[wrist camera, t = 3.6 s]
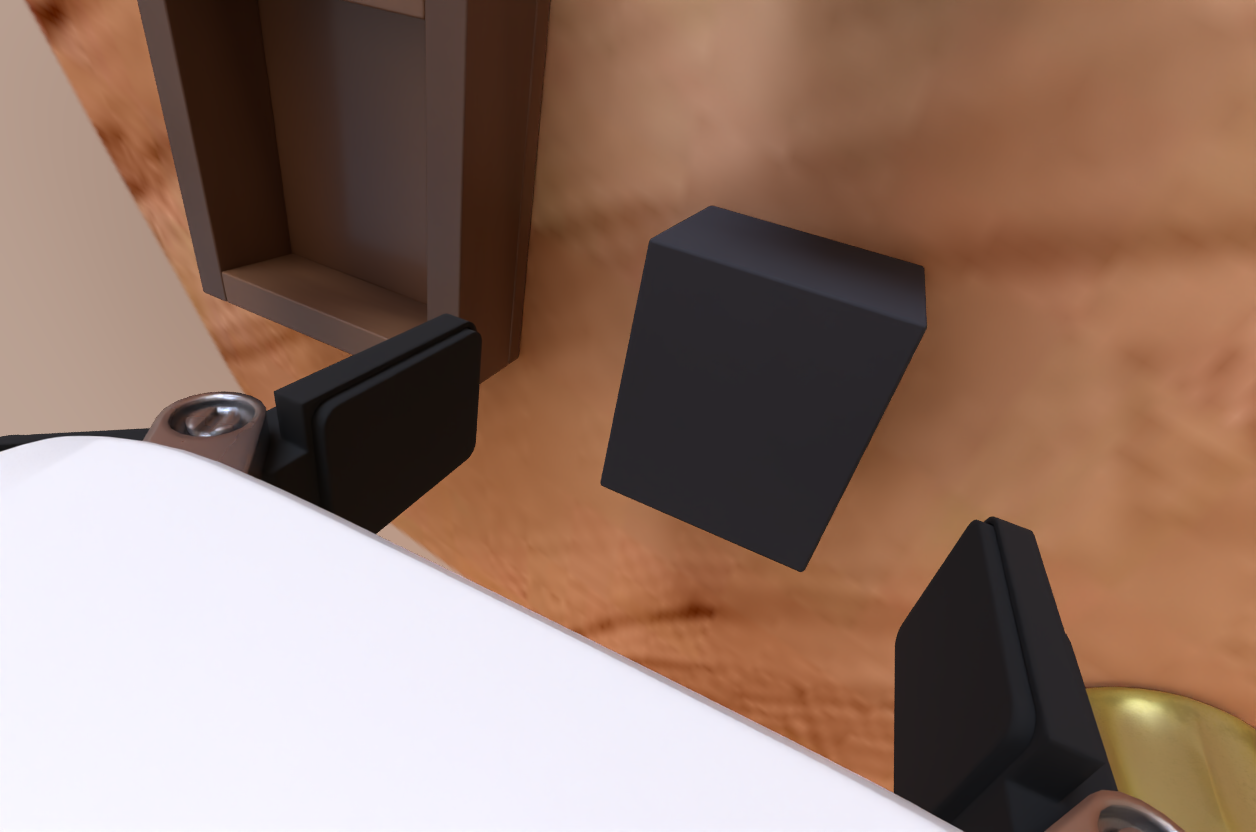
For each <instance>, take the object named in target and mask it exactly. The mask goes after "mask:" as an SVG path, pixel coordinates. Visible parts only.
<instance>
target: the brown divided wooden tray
mask: <svg viewBox="0 0 1256 832" xmlns="http://www.w3.org/2000/svg"><path fill="white" fill-rule="evenodd" d="M137 1H138V6H139V10H140V14H141V19H142V23H143V28H144V32H145V36H146V41H147V45H148V50H149V54H150V58H151V63H152V67H153V72H154V76H155V80H156V85H157V89H158V93H159V98H160V102H161V107H162V111H163V115H164V120H165V124H166V129H167V133H168V137H169V142H170V146H171V151H172V155H173V159H174V164H175V168H176V173H177V177H178V181H179V186H180V190H181V194H182V199H183V203H184V208H185V212H186V216H187V221H188V225H189V230H190V234H191V238H192V243H193V247H194V252H195V256H196V260H197V265H198V269H199V273H200V278H201V282H202V287H203V291H204V292H205V293H207V294H210V295H212V296H214V297H217V298H219V299H221V300H224V301H228V302H229V303H231V304H234V305H236V306H238V307H241V308H243V309H245V310H248V311H250V312H253V313H255V314H257V315H260V316H262V317H264V318H267V319H269V320H271V321H274V322H276V323H279V324H281V325H283V326H286V327H288V328H290V329H293V330H295V331H297V332H300V333H302V334H305V335H307V336H309V337H312V338H314V339H316V340H319V341H321V342H323V343H326V344H328V345H331V346H333V347H335V348H338V349H340V350H342V351H345V352H347V353H350V354H352V355H355V354H357V353H359V352H361V351H364V350H366V349H368V348H370V347H372V346H375V345H377V344H379V343H381V342H383V341H386V340H388V339H390V338H392V337H394V336H396V335H399V334H401V333H403V332H405V331H407V330H410V329H412V328H414V327H416V326H418V325H421V324H423V323H425V322H427V321H429V320H431V319H434V318H436V317H438V316H440V315H442V314H446V313H447V314H451V315H453V316H456V317H459V318H461V319H464V320H467V321H470V322H472V323H474V325H475V326H476V329H477V332H479V333H480V334H481V337H482V351H481V367H480V383H482V382H483V381H485V380H486V379H488V378H489V377H491V376H492V375H494V374H495V373H497V372H498V371H500V370H501V369H503V368H504V367H506V366H507V365H508V364H510V363H511V362H513V361H514V360H516V359H517V358H518V356H519V346H520V335H521V324H522V312H523V301H524V290H525V279H526V267H527V256H528V245H529V234H530V222H531V211H532V200H533V189H534V177H535V166H536V155H537V144H538V132H539V121H540V110H541V99H542V87H543V76H544V65H545V54H546V42H547V31H548V20H549V9H550V0H137ZM480 383H479V384H480Z"/></svg>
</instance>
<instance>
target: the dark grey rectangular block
mask: <svg viewBox="0 0 1256 832" xmlns="http://www.w3.org/2000/svg"><path fill="white" fill-rule="evenodd" d="M926 329H927V316H926V295H925V274H924V267H923V266H920V265H916V264H913V263H910V262H906V261H903V260H899V259H896V258H892V257H889V256H885V255H882V254H878V253H875V252H871V251H868V250H864V249H861V248H858V247H854V246H851V245H847V244H844V243H840V242H837V241H833V240H830V239H826V238H823V237H819V236H816V235H812V234H809V233H806V232H802V231H799V230H795V229H792V228H788V227H785V226H781V225H778V224H774V223H771V222H767V221H764V220H760V219H757V218H754V217H750V216H747V215H743V214H740V213H736V212H733V211H729V210H726V209H722V208H719V207H715V206H709V207H707V208H705V209H704V210H702V211H700V212H698V213H696V214H695V215H693V216H691V217H689V218H687V219H686V220H684V221H682V222H680V223H678V224H677V225H675V226H673V227H671V228H669V229H668V230H666V231H664V232H662V233H660V234H659V235H657V236H655V237H653V238H651V239H650V241H649V245H648V250H647V255H646V260H645V265H644V270H643V275H642V280H641V285H640V290H639V295H638V300H637V305H636V310H635V314H634V319H633V324H632V329H631V334H630V339H629V344H628V349H627V354H626V359H625V364H624V369H623V374H622V379H621V384H620V389H619V394H618V399H617V403H616V408H615V413H614V418H613V423H612V428H611V433H610V438H609V443H608V448H607V453H606V458H605V463H604V468H603V473H602V478H601V485H602V486H604V487H606V488H608V489H610V490H613V491H615V492H617V493H620V494H622V495H624V496H627V497H629V498H631V499H633V500H636V501H638V502H640V503H643V504H645V505H647V506H650V507H652V508H654V509H656V510H659V511H661V512H663V513H666V514H668V515H670V516H673V517H675V518H677V519H679V520H682V521H684V522H686V523H689V524H691V525H693V526H696V527H698V528H700V529H702V530H705V531H707V532H709V533H712V534H714V535H716V536H719V537H721V538H723V539H725V540H728V541H730V542H732V543H735V544H737V545H739V546H742V547H744V548H746V549H748V550H751V551H753V552H755V553H758V554H760V555H762V556H765V557H767V558H769V559H771V560H774V561H776V562H778V563H781V564H783V565H785V566H788V567H790V568H792V569H794V570H797V571H799V572H803V571H804V570H805V569H806V567H807V565H808V563H809V561H810V559H811V557H812V555H813V553H814V551H815V549H816V547H817V545H818V543H819V541H820V539H821V537H822V535H823V533H824V531H825V529H826V527H827V525H828V523H829V521H830V519H831V517H832V515H833V513H834V511H835V509H836V507H837V505H838V503H839V501H840V499H841V497H842V495H843V493H844V491H845V489H846V487H847V485H848V483H849V481H850V479H851V477H852V475H853V473H854V472H855V470H856V468H857V466H858V464H859V462H860V460H861V458H862V456H863V454H864V452H865V450H866V448H867V446H868V444H869V442H870V440H871V438H872V436H873V434H874V432H875V430H876V428H877V426H878V424H879V422H880V420H881V418H882V416H883V414H884V412H885V410H886V408H887V406H888V404H889V402H890V400H891V398H892V396H893V394H894V392H895V390H896V388H897V386H898V384H899V382H900V380H901V378H902V376H903V374H904V372H905V370H906V368H907V366H908V364H909V362H910V361H911V359H912V357H913V355H914V353H915V351H916V349H917V347H918V345H919V343H920V341H921V339H922V337H923V335H924V333H925V331H926Z"/></svg>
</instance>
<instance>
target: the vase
mask: <svg viewBox="0 0 1256 832" xmlns="http://www.w3.org/2000/svg"><path fill="white" fill-rule="evenodd" d="M1086 692H1087V695H1088V698H1089V701H1090V704H1091V707H1092V711H1093V714H1094V717H1095V720H1096V723H1097V726H1098V729H1099V732H1100V736H1101V739H1102V742H1103V745H1104V748H1105V751H1106V754H1107V757H1108V761H1109V764H1110V767H1111V770H1112V773H1113V776H1114V779H1115V782H1116V786H1117V789H1118V791H1119V792H1122V793H1125V794H1127V795H1130V796H1133V797H1135V798H1138V799H1140V800H1142V801H1144V802H1145V803H1147V804H1149V805H1150V806H1152V807H1154V808H1155V809H1157V810H1158V811H1160V812H1162V813H1163V814H1165V815H1166V816H1167V817H1168V818H1170V819H1171V820H1172V821H1173V822H1174V823H1176V824H1177V825H1178V826H1179V827H1181V828H1182V829H1183V830H1184V831H1185V832H1256V729H1254V728H1253V727H1252V726H1250V725H1248V724H1247V723H1245V722H1244V721H1242V720H1241V719H1239V718H1237V717H1235V716H1233V715H1231V714H1229V713H1226V712H1224V711H1222V710H1220V709H1218V708H1215V707H1213V706H1210V705H1207V704H1205V703H1202V702H1200V701H1196V700H1193V699H1190V698H1187V697H1184V696H1181V695H1176V694H1172V693H1167V692H1162V691H1156V690H1149V689H1142V688H1129V687H1096V688H1086Z"/></svg>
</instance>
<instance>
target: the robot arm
mask: <svg viewBox="0 0 1256 832" xmlns="http://www.w3.org/2000/svg"><path fill="white" fill-rule="evenodd" d="M481 351H482V337H481V334H480V333H479V332H477V329H476V326H475V325H474V323H472V322H470V321H467V320H464V319H461V318H459V317H456V316H453V315H451V314H447V313H446V314H442V315H440V316H438V317H436V318H434V319H431V320H429V321H427V322H425V323H423V324H421V325H418V326H416V327H414V328H412V329H410V330H407V331H405V332H403V333H401V334H399V335H396V336H394V337H392V338H390V339H388V340H386V341H383V342H381V343H379V344H377V345H375V346H372V347H370V348H368V349H366V350H364V351H361V352H359V353H357V354H355V355H353V356H350V357H348V358H346V359H344V360H342V361H340V362H337V363H335V364H333V365H331V366H329V367H326V368H324V369H322V370H320V371H318V372H315V373H313V374H311V375H309V376H307V377H304V378H302V379H300V380H298V381H296V382H294V383H291V384H289V385H287V386H285V387H283V388H280V389H278V390H276V391H274V396H275V403H276V407H274V408H272V409H270V410H268V411H266V407H265V406H264V405H263V403H262V402H261V401H260V400H258V399H256V398H254V397H253V396H250V395H246V394H242V393H236V392H210V393H203V394H198V395H193V396H189V397H187V398H184V399H181V400H178V401H176V402H174V403H172V404H171V405H169V406H167V407H166V408H164V409H163V410H162V411H161V413H160V414H159V415H158V416H157V417H156V419H155V421H154V422H153V424H152V426H151V427H150V428H149V429H147V428H146V429H127V430H108V431H90V432H71V433H52V434H33V435H8V436H2V437H0V832H1185V831H1184V830H1183V829H1182V828H1181V827H1179V826H1178V825H1177V824H1176V823H1174V822H1173V821H1172V820H1171V819H1170V818H1168V817H1167V816H1166V815H1165V814H1163V813H1162V812H1160V811H1158V810H1157V809H1155V808H1154V807H1152V806H1150V805H1149V804H1147V803H1145V802H1144V801H1142V800H1140V799H1138V798H1135V797H1133V796H1130V795H1127V794H1125V793H1122V792H1119V791H1118V789H1117V786H1116V782H1115V779H1114V776H1113V773H1112V770H1111V767H1110V764H1109V761H1108V757H1107V754H1106V751H1105V748H1104V745H1103V742H1102V739H1101V736H1100V732H1099V729H1098V726H1097V723H1096V720H1095V717H1094V714H1093V711H1092V707H1091V704H1090V701H1089V698H1088V695H1087V692H1086V689H1085V686H1084V682H1083V679H1082V676H1081V673H1080V670H1079V667H1078V664H1077V661H1076V657H1075V654H1074V651H1073V648H1072V645H1071V642H1070V640H1069V638H1068V636H1067V634H1065V631H1064V628H1063V625H1062V622H1061V619H1060V615H1059V612H1058V609H1057V606H1056V603H1055V600H1054V596H1053V593H1052V590H1051V587H1050V584H1049V581H1048V577H1047V574H1046V571H1045V568H1044V565H1043V561H1042V558H1041V555H1040V552H1039V549H1038V546H1037V542H1036V539H1035V536H1034V534H1033V532H1032V531H1030V530H1028V529H1026V528H1023V527H1020V526H1017V525H1015V524H1012V523H1009V522H1007V521H1004V520H1001V519H999V518H996V517H989V518H988V519H987V520H985V522H981V521H979V520H974V521H972V522H971V523H970V524H969V526H968V527H967V528H966V530H965V531H964V533H963V534H962V536H961V537H960V539H959V540H958V542H957V543H956V545H955V546H954V548H953V549H952V551H951V552H950V554H949V555H948V557H947V558H946V560H945V561H944V563H943V564H942V566H941V567H940V569H939V570H938V572H937V573H936V575H935V576H934V577H933V579H932V580H931V582H930V583H929V585H928V586H927V588H926V589H925V591H924V592H923V594H922V595H921V597H920V598H919V600H918V601H917V603H916V604H915V606H914V607H913V609H912V610H911V612H910V613H909V615H908V616H907V618H906V619H905V621H904V622H903V624H902V625H901V627H900V629H899V631H898V634H897V637H896V642H895V708H894V793H893V792H891V791H889V790H887V789H885V788H883V787H881V786H879V785H877V784H875V783H874V782H872V781H870V780H868V779H866V778H864V777H862V776H860V775H858V774H856V773H854V772H852V771H850V770H848V769H846V768H844V767H842V766H840V765H838V764H837V763H835V762H833V761H831V760H829V759H827V758H825V757H823V756H821V755H819V754H817V753H815V752H813V751H811V750H809V749H808V748H806V747H804V746H802V745H800V744H798V743H796V742H794V741H792V740H790V739H788V738H786V737H784V736H782V735H780V734H778V733H776V732H774V731H772V730H770V729H768V728H766V727H764V726H762V725H760V724H758V723H756V722H754V721H752V720H750V719H748V718H746V717H744V716H742V715H740V714H738V713H736V712H734V711H732V710H730V709H728V708H726V707H724V706H722V705H720V704H718V703H716V702H714V701H712V700H710V699H708V698H706V697H704V696H702V695H700V694H698V693H696V692H694V691H692V690H690V689H688V688H686V687H684V686H682V685H680V684H678V683H676V682H674V681H672V680H670V679H668V678H666V677H664V676H662V675H660V674H658V673H656V672H654V671H652V670H650V669H648V668H646V667H644V666H642V665H640V664H638V663H636V662H634V661H632V660H630V659H628V658H626V657H624V656H622V655H620V654H618V653H616V652H614V651H612V650H610V649H608V648H606V647H604V646H602V645H600V644H598V643H596V642H594V641H592V640H590V639H588V638H586V637H584V636H582V635H580V634H578V633H576V632H574V631H572V630H570V629H568V628H566V627H564V626H562V625H560V624H558V623H556V622H554V621H552V620H550V619H548V618H546V617H544V616H542V615H540V614H537V613H535V612H533V611H531V610H529V609H527V608H525V607H523V606H521V605H519V604H517V603H515V602H513V601H511V600H509V599H507V598H505V597H503V596H501V595H499V594H497V593H495V592H493V591H491V590H489V589H487V588H485V587H483V586H481V585H479V584H477V583H475V582H473V581H471V580H469V579H466V578H464V577H462V576H460V575H458V574H456V573H454V572H452V571H450V570H448V569H446V568H444V567H442V566H440V565H438V564H436V563H434V562H432V561H430V560H427V559H425V558H423V557H421V556H419V555H417V554H415V553H413V552H411V551H409V550H407V549H405V548H403V547H401V546H399V545H397V544H395V543H393V542H390V541H389V540H386V539H384V538H382V537H380V536H378V535H376V533H378V532H379V531H380V530H381V529H383V528H384V527H385V526H386V525H388V524H389V523H390V522H391V521H392V520H394V519H395V518H396V517H397V516H399V515H400V514H401V513H402V512H403V511H405V510H406V509H407V508H408V507H410V506H411V505H412V504H413V503H414V502H416V501H417V500H418V499H419V498H421V497H422V496H423V495H424V494H425V493H427V492H428V491H429V490H430V489H432V488H433V487H434V486H435V485H436V484H438V483H439V482H440V481H441V480H443V479H444V478H445V477H446V476H447V475H449V474H450V473H451V472H452V471H454V470H455V469H456V468H457V467H458V466H460V465H461V464H462V463H463V462H465V461H466V460H467V459H468V458H469V457H470V455H471V454H472V452H473V450H474V448H475V444H476V431H477V415H478V399H479V383H480V367H481Z"/></svg>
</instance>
